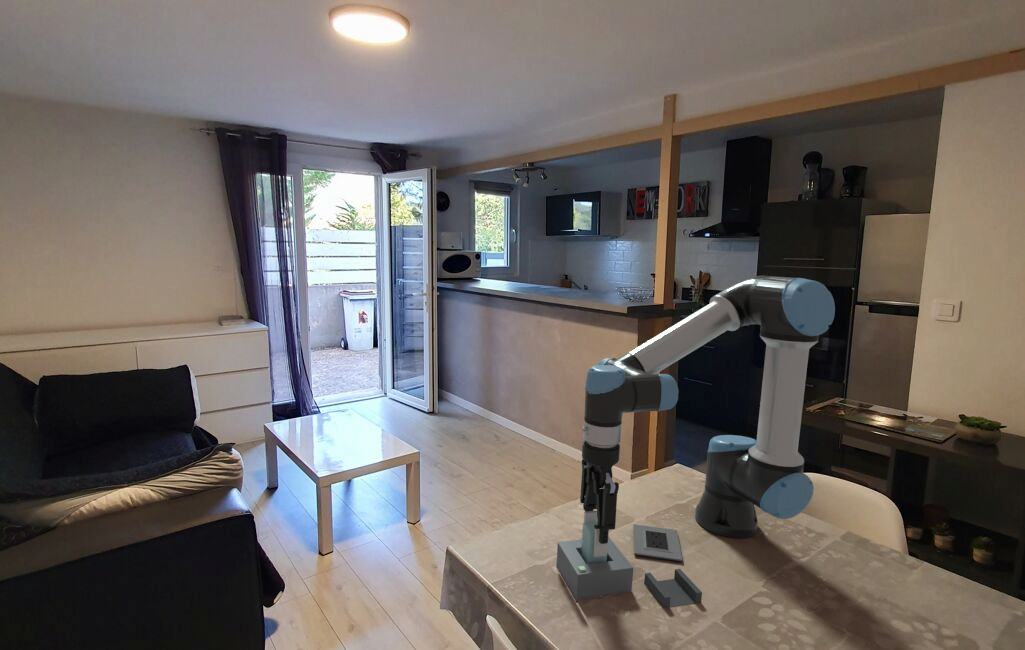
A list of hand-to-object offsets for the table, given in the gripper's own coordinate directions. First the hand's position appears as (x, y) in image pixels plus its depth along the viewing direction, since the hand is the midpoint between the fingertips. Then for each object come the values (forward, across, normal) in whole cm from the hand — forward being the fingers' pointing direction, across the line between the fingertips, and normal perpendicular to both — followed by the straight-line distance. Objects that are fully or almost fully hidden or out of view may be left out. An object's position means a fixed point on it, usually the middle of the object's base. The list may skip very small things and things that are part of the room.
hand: (594, 547), depth 112 cm
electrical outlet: (+8, -9, +20) cm, 23 cm away
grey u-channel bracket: (+8, +8, +14) cm, 18 cm away
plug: (+5, 0, 0) cm, 5 cm away
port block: (+8, 0, 0) cm, 8 cm away
